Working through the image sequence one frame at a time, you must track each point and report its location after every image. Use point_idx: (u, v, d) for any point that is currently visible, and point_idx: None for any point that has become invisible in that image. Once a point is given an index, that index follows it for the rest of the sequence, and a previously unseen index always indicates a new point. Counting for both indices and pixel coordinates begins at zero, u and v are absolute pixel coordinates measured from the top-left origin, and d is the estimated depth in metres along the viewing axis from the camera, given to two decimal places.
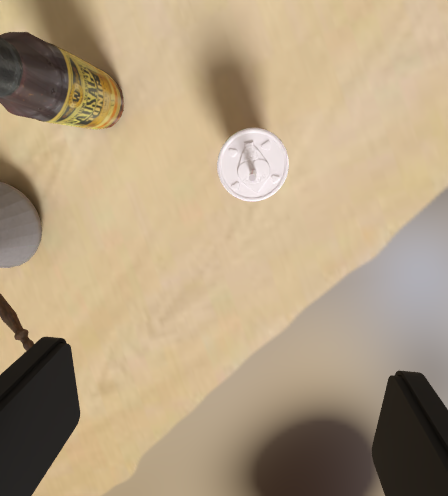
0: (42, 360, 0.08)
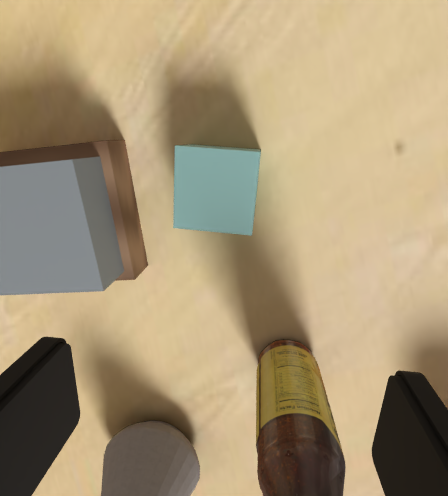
0: (42, 360, 0.08)
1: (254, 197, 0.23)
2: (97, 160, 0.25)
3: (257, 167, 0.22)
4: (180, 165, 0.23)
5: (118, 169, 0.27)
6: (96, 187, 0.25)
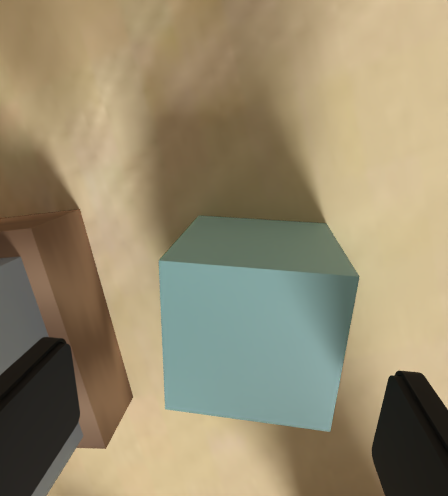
0: (42, 360, 0.08)
1: (339, 365, 0.10)
2: (14, 266, 0.13)
3: (350, 308, 0.10)
4: (173, 299, 0.10)
5: (65, 269, 0.15)
6: (9, 324, 0.13)
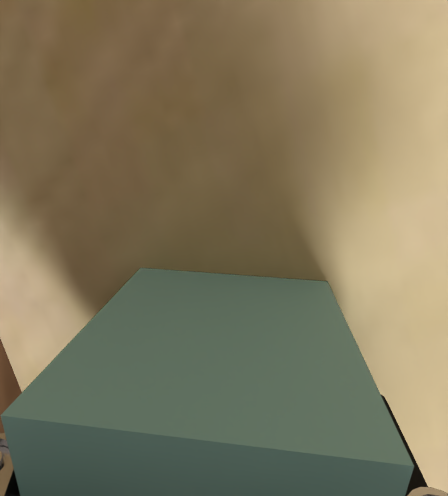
0: None
1: None
2: None
3: None
4: (40, 481, 0.05)
5: None
6: None
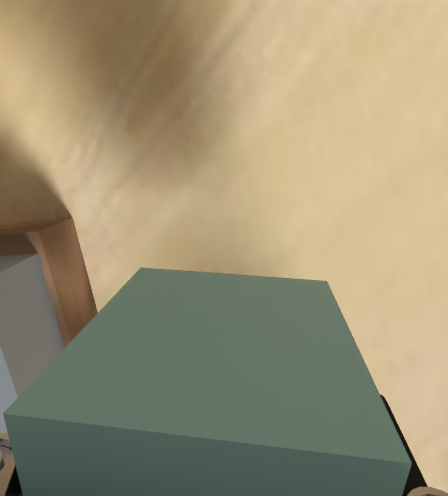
0: None
1: None
2: (34, 260, 0.17)
3: None
4: (42, 478, 0.05)
5: (62, 265, 0.18)
6: (30, 305, 0.16)
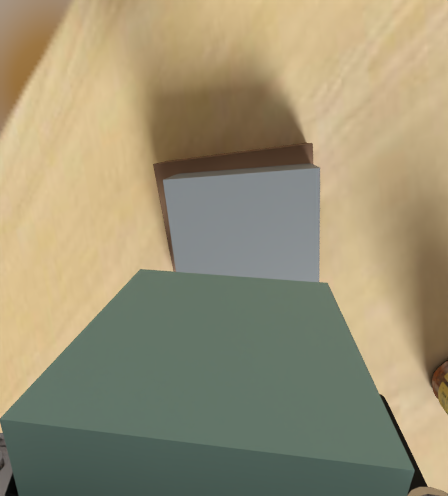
0: None
1: None
2: None
3: None
4: (40, 485, 0.05)
5: None
6: None
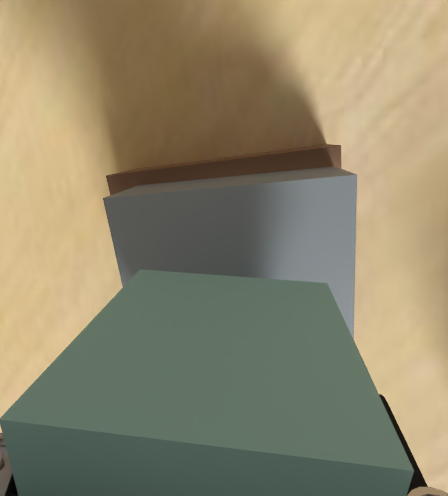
0: None
1: None
2: None
3: None
4: (39, 485, 0.05)
5: None
6: None
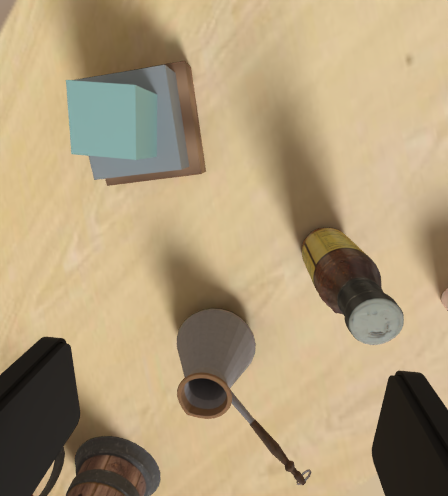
0: (42, 360, 0.08)
1: (134, 125, 0.28)
2: (174, 74, 0.35)
3: (134, 98, 0.27)
4: (72, 97, 0.27)
5: (190, 86, 0.36)
6: (175, 93, 0.34)
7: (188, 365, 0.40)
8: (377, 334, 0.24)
